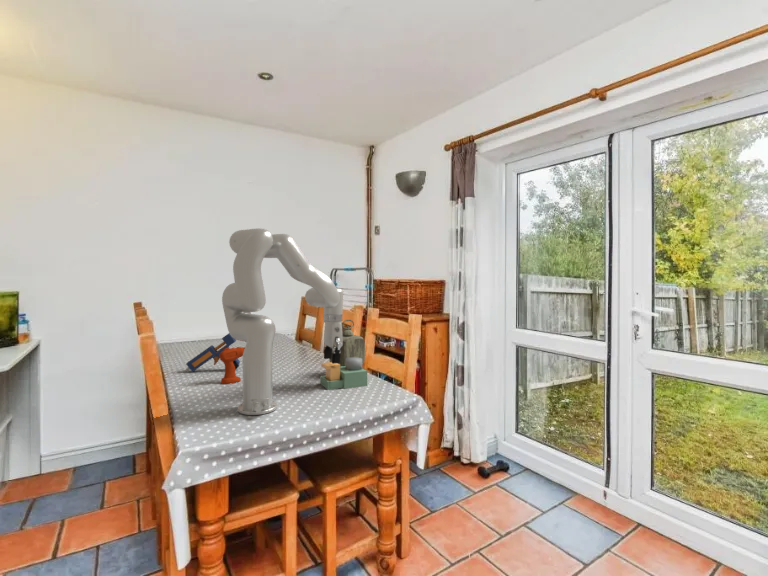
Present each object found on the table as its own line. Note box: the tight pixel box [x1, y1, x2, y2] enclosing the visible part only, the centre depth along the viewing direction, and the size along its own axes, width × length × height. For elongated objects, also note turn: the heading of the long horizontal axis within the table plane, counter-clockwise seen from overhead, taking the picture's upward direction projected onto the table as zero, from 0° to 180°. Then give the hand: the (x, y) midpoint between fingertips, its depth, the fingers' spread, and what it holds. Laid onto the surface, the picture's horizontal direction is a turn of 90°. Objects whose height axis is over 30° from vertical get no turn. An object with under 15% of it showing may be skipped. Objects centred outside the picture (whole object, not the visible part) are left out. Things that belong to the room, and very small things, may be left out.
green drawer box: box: [319, 357, 368, 390], centre depth 165 cm, size 12×16×10 cm
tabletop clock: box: [328, 319, 366, 366], centre depth 179 cm, size 14×9×25 cm, turn 136°
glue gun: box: [183, 332, 241, 373], centre depth 184 cm, size 6×31×15 cm
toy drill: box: [219, 346, 246, 385], centre depth 169 cm, size 5×19×15 cm, turn 130°
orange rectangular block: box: [320, 361, 340, 381], centre depth 162 cm, size 6×6×9 cm
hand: (331, 360), depth 162 cm, fingers open, 9 cm apart
